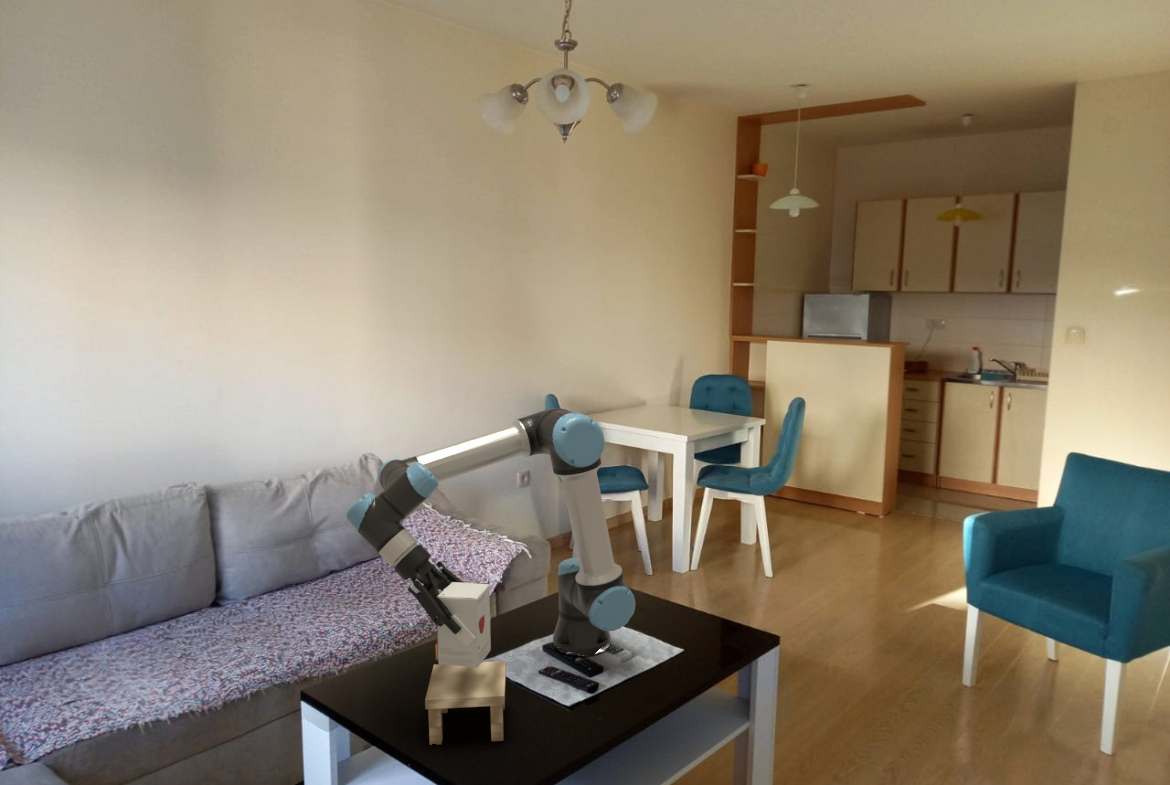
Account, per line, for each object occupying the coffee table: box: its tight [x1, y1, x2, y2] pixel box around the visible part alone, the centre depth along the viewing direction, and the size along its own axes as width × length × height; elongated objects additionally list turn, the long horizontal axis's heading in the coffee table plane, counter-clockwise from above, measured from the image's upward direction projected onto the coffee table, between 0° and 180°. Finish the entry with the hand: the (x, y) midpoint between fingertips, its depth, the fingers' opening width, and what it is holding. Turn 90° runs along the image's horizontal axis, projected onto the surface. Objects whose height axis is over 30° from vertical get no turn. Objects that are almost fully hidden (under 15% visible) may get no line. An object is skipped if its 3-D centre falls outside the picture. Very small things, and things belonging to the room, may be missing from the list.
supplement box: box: [437, 582, 492, 667], centre depth 171 cm, size 9×9×15 cm
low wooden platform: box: [424, 660, 507, 746], centre depth 173 cm, size 16×16×10 cm
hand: (479, 632), depth 170 cm, fingers closed on supplement box, 9 cm apart
